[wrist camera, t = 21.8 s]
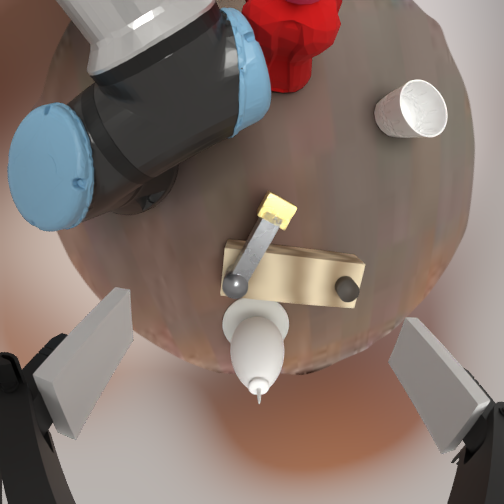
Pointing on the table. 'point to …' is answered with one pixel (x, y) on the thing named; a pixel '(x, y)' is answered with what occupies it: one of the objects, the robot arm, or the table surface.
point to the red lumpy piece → (292, 36)
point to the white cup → (412, 111)
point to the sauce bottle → (257, 354)
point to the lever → (257, 243)
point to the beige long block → (301, 275)
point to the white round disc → (254, 315)
